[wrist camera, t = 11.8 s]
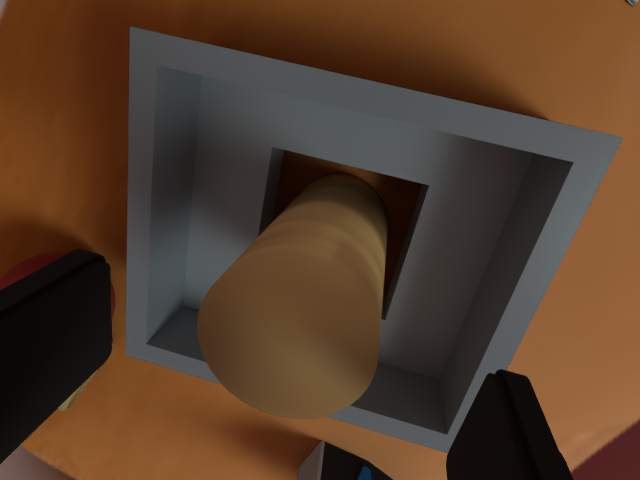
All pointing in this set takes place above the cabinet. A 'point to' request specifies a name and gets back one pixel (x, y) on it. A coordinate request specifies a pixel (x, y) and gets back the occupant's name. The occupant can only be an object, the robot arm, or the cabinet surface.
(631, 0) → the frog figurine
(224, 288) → the peg
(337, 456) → the padlock
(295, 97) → the peg box
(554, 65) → the cabinet surface
